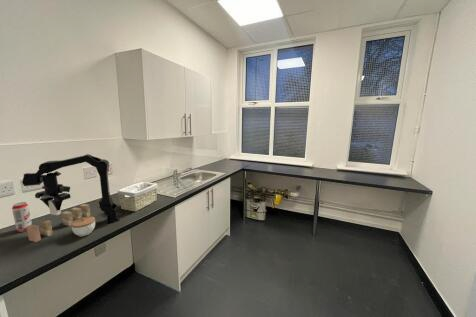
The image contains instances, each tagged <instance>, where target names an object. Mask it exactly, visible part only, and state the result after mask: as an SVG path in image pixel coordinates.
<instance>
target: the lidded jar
mask: <svg viewBox="0 0 476 317" xmlns="http://www.w3.org/2000/svg"><path fill="white" fill-rule="evenodd" d="M70 227H71V230H72V232H73V234H74V235H76V236H78V237H86V236H89V235H91V234H92V232H93V231H94V230H95V227H96V217H94V216H90V217H82V218H79V219H77V220H74V221H73V222H72V223H71V226H70Z"/></svg>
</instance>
